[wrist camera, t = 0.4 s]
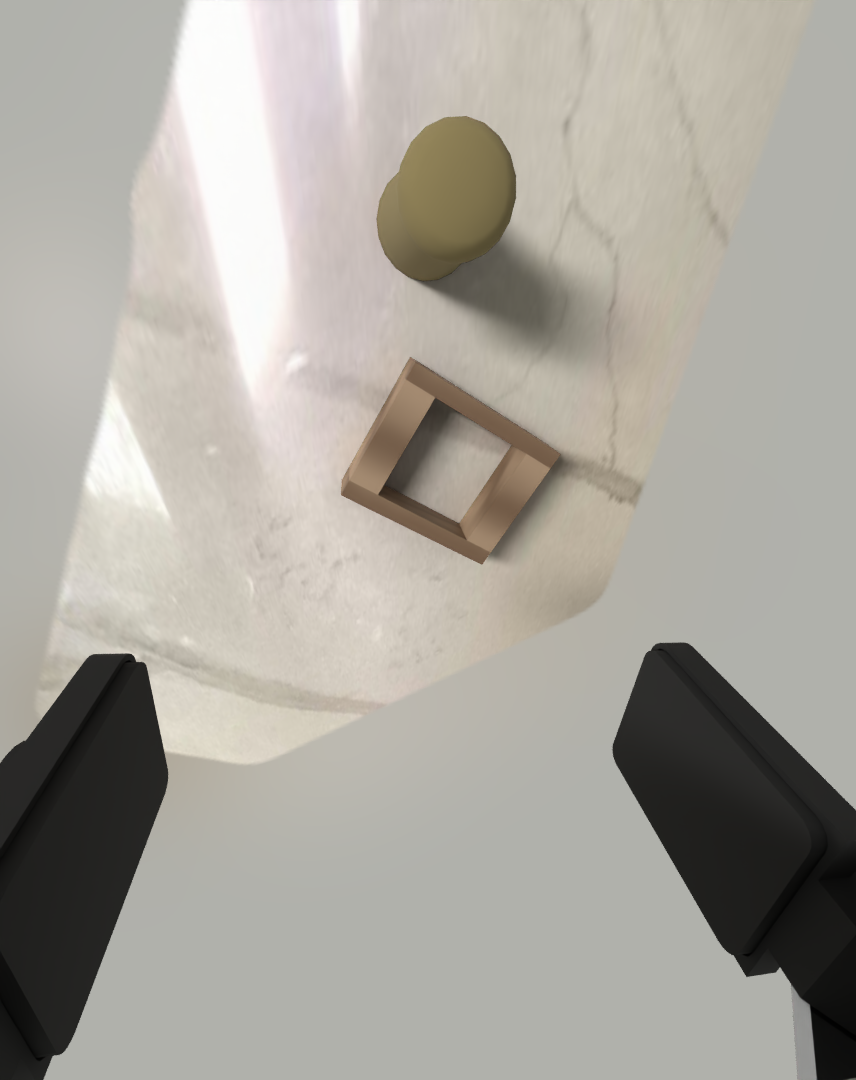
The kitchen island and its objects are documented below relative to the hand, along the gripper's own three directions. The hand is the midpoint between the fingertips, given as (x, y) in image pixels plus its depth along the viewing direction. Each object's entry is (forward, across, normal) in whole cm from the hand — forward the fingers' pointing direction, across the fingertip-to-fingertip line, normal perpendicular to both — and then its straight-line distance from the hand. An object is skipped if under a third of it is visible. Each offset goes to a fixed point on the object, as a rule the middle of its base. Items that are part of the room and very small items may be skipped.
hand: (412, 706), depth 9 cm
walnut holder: (+28, -6, +3) cm, 28 cm away
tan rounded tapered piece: (+28, -3, -12) cm, 30 cm away
